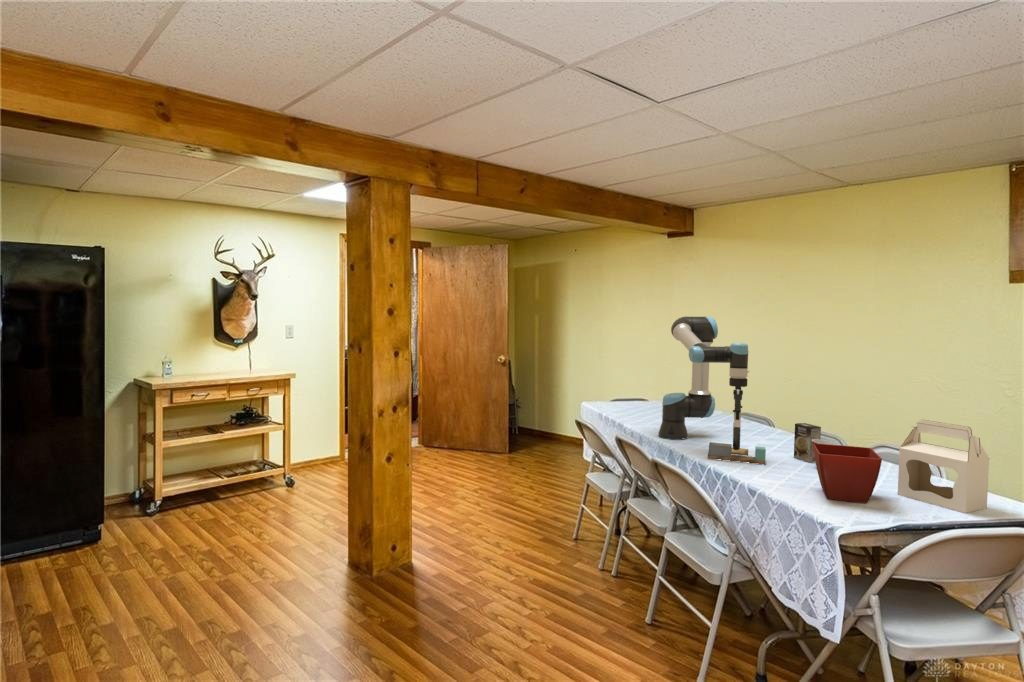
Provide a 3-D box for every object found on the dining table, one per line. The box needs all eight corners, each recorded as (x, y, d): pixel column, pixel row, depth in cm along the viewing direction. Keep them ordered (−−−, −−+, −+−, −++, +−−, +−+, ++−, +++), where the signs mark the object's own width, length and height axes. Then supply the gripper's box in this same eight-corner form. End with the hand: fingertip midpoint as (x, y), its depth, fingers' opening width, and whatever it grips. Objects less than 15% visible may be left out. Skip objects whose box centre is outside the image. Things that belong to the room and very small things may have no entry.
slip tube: (714, 453, 256) (715, 421, 255) (715, 451, 259) (716, 420, 258) (748, 456, 251) (749, 424, 250) (748, 454, 253) (749, 423, 253)
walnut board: (707, 458, 255) (707, 455, 255) (708, 455, 262) (708, 452, 262) (765, 464, 246) (765, 461, 246) (764, 461, 253) (764, 457, 253)
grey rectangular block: (708, 455, 256) (709, 444, 256) (709, 452, 261) (709, 442, 260) (731, 457, 252) (731, 446, 252) (731, 455, 257) (731, 444, 257)
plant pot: (811, 485, 216) (812, 442, 215) (869, 492, 209) (871, 447, 208) (817, 500, 198) (818, 453, 198) (880, 508, 191) (882, 459, 190)
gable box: (896, 494, 207) (899, 418, 206) (917, 490, 212) (921, 416, 211) (966, 513, 187) (970, 430, 185) (988, 508, 192) (992, 427, 191)
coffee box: (792, 457, 259) (794, 423, 258) (803, 457, 261) (805, 422, 260) (808, 462, 250) (810, 427, 250) (820, 461, 252) (821, 426, 252)
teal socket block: (755, 459, 249) (755, 448, 248) (755, 457, 253) (755, 446, 253) (765, 460, 247) (765, 449, 247) (764, 458, 252) (765, 447, 251)
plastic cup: (844, 472, 235) (845, 444, 235) (818, 472, 235) (819, 443, 235) (830, 465, 246) (831, 438, 245) (805, 465, 246) (806, 438, 246)
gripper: (747, 380, 239) (746, 429, 240) (747, 375, 262) (746, 420, 263) (728, 379, 242) (727, 428, 243) (730, 374, 265) (728, 419, 266)
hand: (737, 424), depth 253 cm, fingers open, 13 cm apart
